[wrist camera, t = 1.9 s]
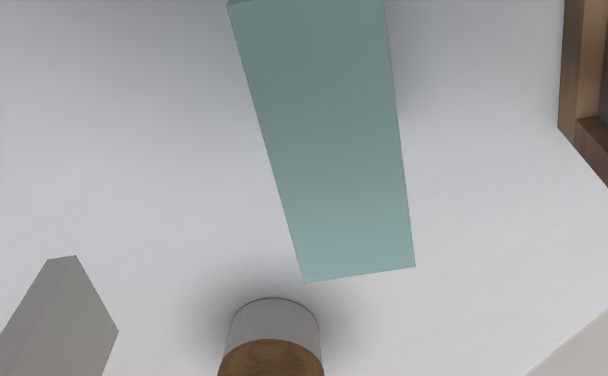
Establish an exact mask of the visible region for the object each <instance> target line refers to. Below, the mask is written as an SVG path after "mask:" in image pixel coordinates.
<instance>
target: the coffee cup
mask: <svg viewBox="0 0 608 376" xmlns="http://www.w3.org/2000/svg"><path fill="white" fill-rule="evenodd" d="M217 376H324V370H323V367H322V359H321V350H320V341H319V332H318V325H317V323H316V320H315V318H314V317H313V315H312V314H311V313H310V312H309V311H308V310H307V309H306V308H304V307H303V306H301V305H300V304H297V303H295V302H293V301H289V300H285V299H277V298H269V299H262V300H257V301H254V302H251V303H249V304H247V305H246V306H244V307H243V308H241V309H240V310H239V311H238V312H237V314H236V315H235V316H234V318H233V321H232V323H231V327H230V331H229V335H228V339H227V343H226V347H225V351H224V355H223V359H222V362H221V365H220V368H219V371H218V375H217Z"/></svg>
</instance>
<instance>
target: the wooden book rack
mask: <svg viewBox="0 0 608 376" xmlns="http://www.w3.org/2000/svg"><path fill="white" fill-rule="evenodd" d="M558 128H559V130H560V131H561V132H562V133H563V134H564V136H565V137H566V138H567V139H568V140H569V142H570V143H571V144H572V145H573V146H574V148H575V149H576V150H577V151H578V152H579V154H580V155H581V156H582V157H583V158H584V160H585V161H586V162H587V163H588V164H589V166H590V167H591V168H592V169H593V170H594V172H595V173H596V174H597V175H598V176H599V178H600V179H601V180H602V181H603V182H604V184H605V185H606V186H607V187H608V0H565V14H564V31H563V47H562V64H561V80H560V97H559V113H558Z"/></svg>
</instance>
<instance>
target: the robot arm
mask: <svg viewBox="0 0 608 376" xmlns="http://www.w3.org/2000/svg"><path fill="white" fill-rule="evenodd" d="M118 332H119V330H118V329H117V327H116V325H115V323H114V322H113V320H112V318H111V316H110V315H109V313H108V311H107V309H106V307H105V306H104V304H103V302H102V300H101V299H100V297H99V295H98V293H97V292H96V290H95V288H94V286H93V285H92V283H91V281H90V279H89V277H88V276H87V274H86V272H85V270H84V269H83V267H82V265H81V263H80V262H79V260H78V258H77V256H76V255H74V256H67V257H61V258H55V259H49V260H47V261H46V263H45V264H44V266H43V267H42V269H41V271H40V272H39V274H38V275H37V277H36V279H35V280H34V282H33V283H32V285H31V287H30V288H29V290H28V291H27V293H26V295H25V296H24V298H23V299H22V301H21V303H20V304H19V306H18V307H17V309H16V311H15V312H14V314H13V315H12V317H11V319H10V320H9V322H8V323H7V325H6V327H5V328H4V330H3V331H2V333H1V335H0V376H102V373H103V370H104V368H105V365H106V363H107V360H108V358H109V355H110V353H111V350H112V347H113V345H114V342H115V340H116V337H117V335H118Z"/></svg>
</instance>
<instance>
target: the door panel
mask: <svg viewBox="0 0 608 376" xmlns="http://www.w3.org/2000/svg"><path fill="white" fill-rule="evenodd" d="M226 7H227V10H228V14H229V17H230V21H231V24H232V28H233V32H234V35H235V39H236V42H237V46H238V49H239V53H240V56H241V60H242V64H243V67H244V71H245V74H246V78H247V81H248V85H249V88H250V92H251V96H252V99H253V103H254V106H255V110H256V113H257V117H258V121H259V124H260V128H261V131H262V135H263V138H264V142H265V145H266V149H267V153H268V156H269V160H270V163H271V167H272V170H273V174H274V177H275V181H276V185H277V188H278V192H279V195H280V199H281V202H282V206H283V209H284V213H285V217H286V220H287V224H288V227H289V231H290V234H291V238H292V241H293V245H294V249H295V252H296V256H297V259H298V263H299V266H300V270H301V273H302V277H303V281H304V283H309V282H316V281H322V280H329V279H336V278H343V277H349V276H356V275H363V274H370V273H377V272H383V271H390V270H397V269H404V268H410V267H416V265H415V257H414V249H413V241H412V232H411V224H410V216H409V208H408V200H407V191H406V183H405V175H404V167H403V159H402V150H401V142H400V134H399V126H398V118H397V109H396V101H395V93H394V85H393V77H392V68H391V60H390V52H389V44H388V36H387V28H386V19H385V11H384V3H383V0H229V1H228V3H227V5H226Z"/></svg>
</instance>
